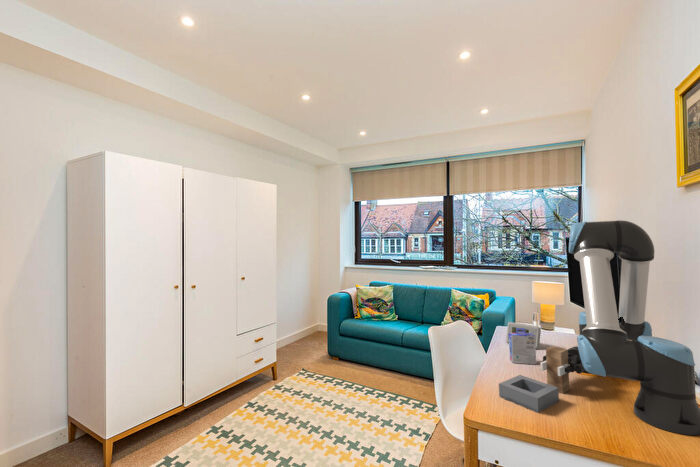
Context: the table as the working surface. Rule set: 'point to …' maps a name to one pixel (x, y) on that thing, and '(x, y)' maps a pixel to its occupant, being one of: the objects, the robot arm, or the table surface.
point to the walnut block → (555, 360)
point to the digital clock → (528, 329)
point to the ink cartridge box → (522, 347)
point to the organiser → (529, 393)
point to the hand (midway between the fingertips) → (550, 369)
